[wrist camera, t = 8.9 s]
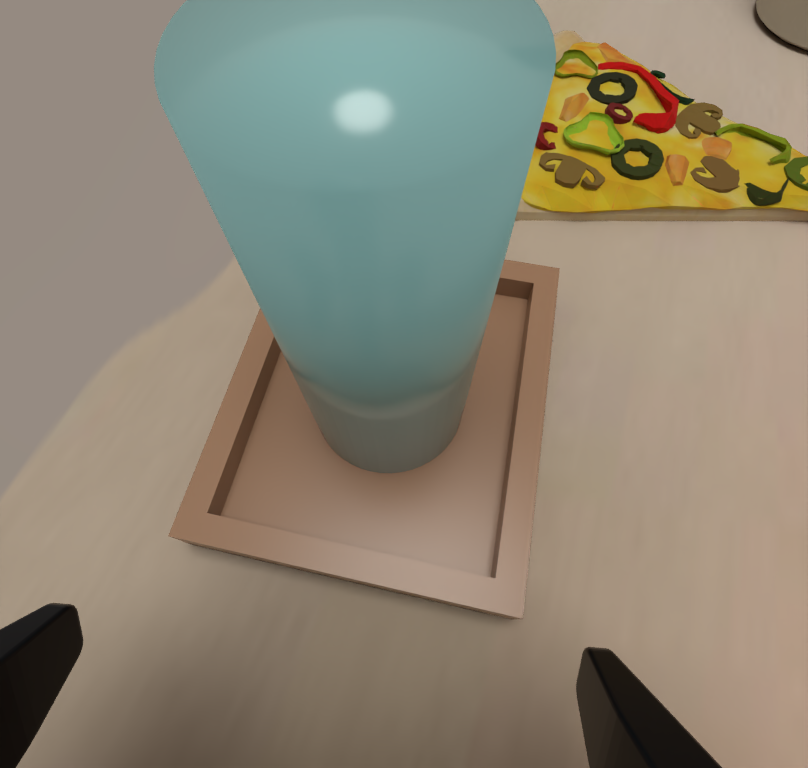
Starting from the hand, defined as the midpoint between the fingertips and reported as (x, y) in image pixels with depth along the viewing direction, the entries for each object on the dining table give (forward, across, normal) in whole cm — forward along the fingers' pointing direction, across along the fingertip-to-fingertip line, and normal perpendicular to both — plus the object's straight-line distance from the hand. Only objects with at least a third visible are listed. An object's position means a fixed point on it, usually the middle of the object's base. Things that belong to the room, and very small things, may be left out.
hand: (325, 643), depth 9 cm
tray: (+13, 0, +1) cm, 13 cm away
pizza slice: (+24, -14, -10) cm, 30 cm away
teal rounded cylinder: (+12, 0, 0) cm, 12 cm away
